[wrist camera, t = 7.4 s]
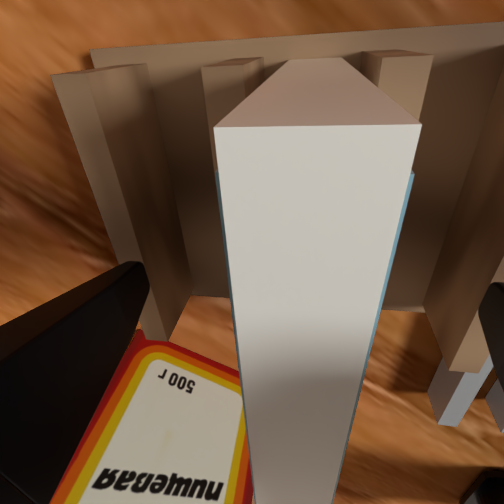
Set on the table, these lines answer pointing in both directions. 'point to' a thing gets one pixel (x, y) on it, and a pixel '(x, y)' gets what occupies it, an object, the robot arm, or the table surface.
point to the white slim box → (309, 260)
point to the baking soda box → (163, 434)
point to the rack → (205, 163)
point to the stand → (463, 394)
